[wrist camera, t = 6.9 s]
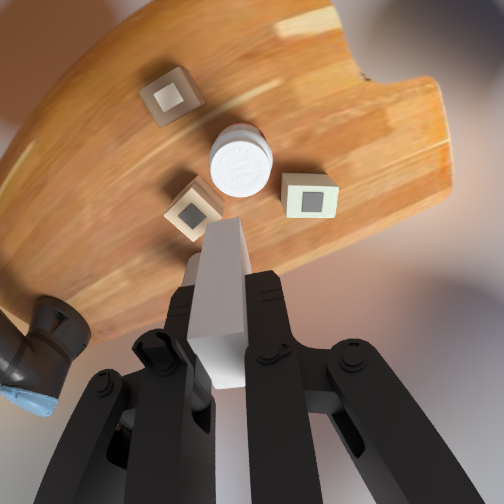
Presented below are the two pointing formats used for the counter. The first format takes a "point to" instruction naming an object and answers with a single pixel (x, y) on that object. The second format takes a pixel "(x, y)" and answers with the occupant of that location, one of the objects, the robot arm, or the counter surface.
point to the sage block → (308, 195)
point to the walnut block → (172, 96)
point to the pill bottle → (240, 160)
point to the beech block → (195, 208)
